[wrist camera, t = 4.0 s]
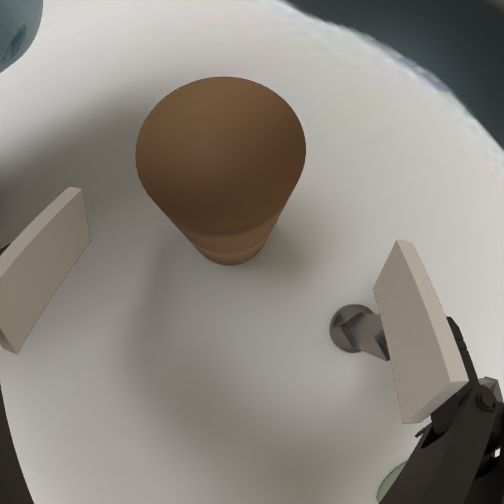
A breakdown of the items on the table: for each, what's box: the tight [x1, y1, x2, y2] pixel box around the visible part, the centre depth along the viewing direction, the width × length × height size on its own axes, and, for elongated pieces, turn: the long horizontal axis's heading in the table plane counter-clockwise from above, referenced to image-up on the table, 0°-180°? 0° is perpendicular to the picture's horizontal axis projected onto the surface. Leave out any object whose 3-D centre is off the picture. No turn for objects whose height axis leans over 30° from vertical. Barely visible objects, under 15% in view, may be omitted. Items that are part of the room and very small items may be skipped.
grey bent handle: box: [330, 304, 504, 403], centre depth 16 cm, size 15×4×7 cm, turn 55°
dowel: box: [136, 77, 306, 265], centre depth 15 cm, size 5×5×12 cm
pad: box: [377, 461, 407, 503], centre depth 18 cm, size 6×6×1 cm
